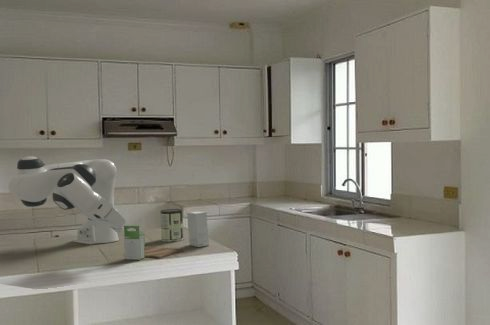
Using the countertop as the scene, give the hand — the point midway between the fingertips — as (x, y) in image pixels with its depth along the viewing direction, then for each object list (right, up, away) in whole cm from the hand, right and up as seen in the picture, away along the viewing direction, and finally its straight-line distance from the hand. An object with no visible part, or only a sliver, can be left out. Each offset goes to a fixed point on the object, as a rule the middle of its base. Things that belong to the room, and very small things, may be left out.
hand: (119, 230), depth 204 cm
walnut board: (+11, -11, +15) cm, 22 cm away
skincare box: (+28, -11, +30) cm, 42 cm away
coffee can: (+14, -10, +46) cm, 50 cm away
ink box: (+5, -12, +5) cm, 14 cm away
